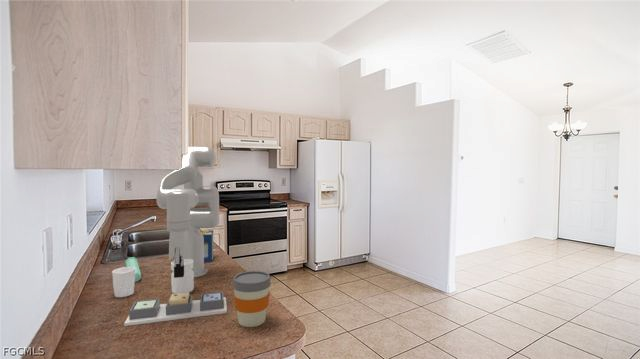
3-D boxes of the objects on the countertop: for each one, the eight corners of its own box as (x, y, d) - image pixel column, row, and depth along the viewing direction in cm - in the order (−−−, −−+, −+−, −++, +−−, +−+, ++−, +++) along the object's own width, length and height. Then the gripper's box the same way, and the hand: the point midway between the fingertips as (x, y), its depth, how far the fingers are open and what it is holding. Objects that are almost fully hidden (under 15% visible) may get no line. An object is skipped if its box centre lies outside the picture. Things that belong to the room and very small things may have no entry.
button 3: (203, 301, 119) (203, 294, 119) (220, 299, 121) (220, 292, 121) (203, 308, 113) (203, 301, 113) (220, 306, 115) (220, 299, 115)
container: (139, 269, 142) (135, 254, 162) (125, 276, 139) (122, 260, 159) (145, 280, 143) (140, 264, 164) (131, 287, 140) (127, 270, 161)
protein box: (185, 258, 179) (184, 231, 178) (213, 256, 182) (213, 230, 182) (181, 263, 168) (181, 235, 168) (212, 262, 172) (211, 233, 172)
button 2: (171, 300, 115) (171, 294, 115) (189, 298, 117) (189, 292, 117) (169, 307, 110) (169, 300, 110) (188, 305, 112) (188, 298, 112)
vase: (195, 285, 139) (195, 258, 138) (192, 293, 130) (192, 264, 130) (173, 286, 137) (173, 259, 136) (169, 294, 128) (168, 265, 128)
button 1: (137, 308, 112) (137, 301, 112) (156, 306, 114) (156, 299, 114) (133, 316, 106) (133, 309, 106) (153, 314, 108) (153, 306, 108)
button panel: (133, 310, 114) (133, 299, 114) (225, 299, 124) (225, 289, 124) (124, 326, 103) (124, 314, 103) (226, 312, 113) (226, 301, 113)
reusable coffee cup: (238, 333, 99) (238, 286, 99) (229, 316, 110) (228, 274, 110) (275, 324, 105) (276, 279, 105) (263, 309, 116) (263, 268, 116)
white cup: (117, 291, 131) (117, 267, 131) (138, 289, 133) (138, 266, 133) (109, 298, 124) (108, 273, 123) (131, 297, 125) (130, 272, 125)
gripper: (170, 222, 118) (170, 271, 119) (163, 230, 104) (164, 285, 105) (191, 221, 121) (191, 269, 121) (188, 229, 106) (188, 282, 107)
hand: (179, 276), depth 113 cm, fingers closed
